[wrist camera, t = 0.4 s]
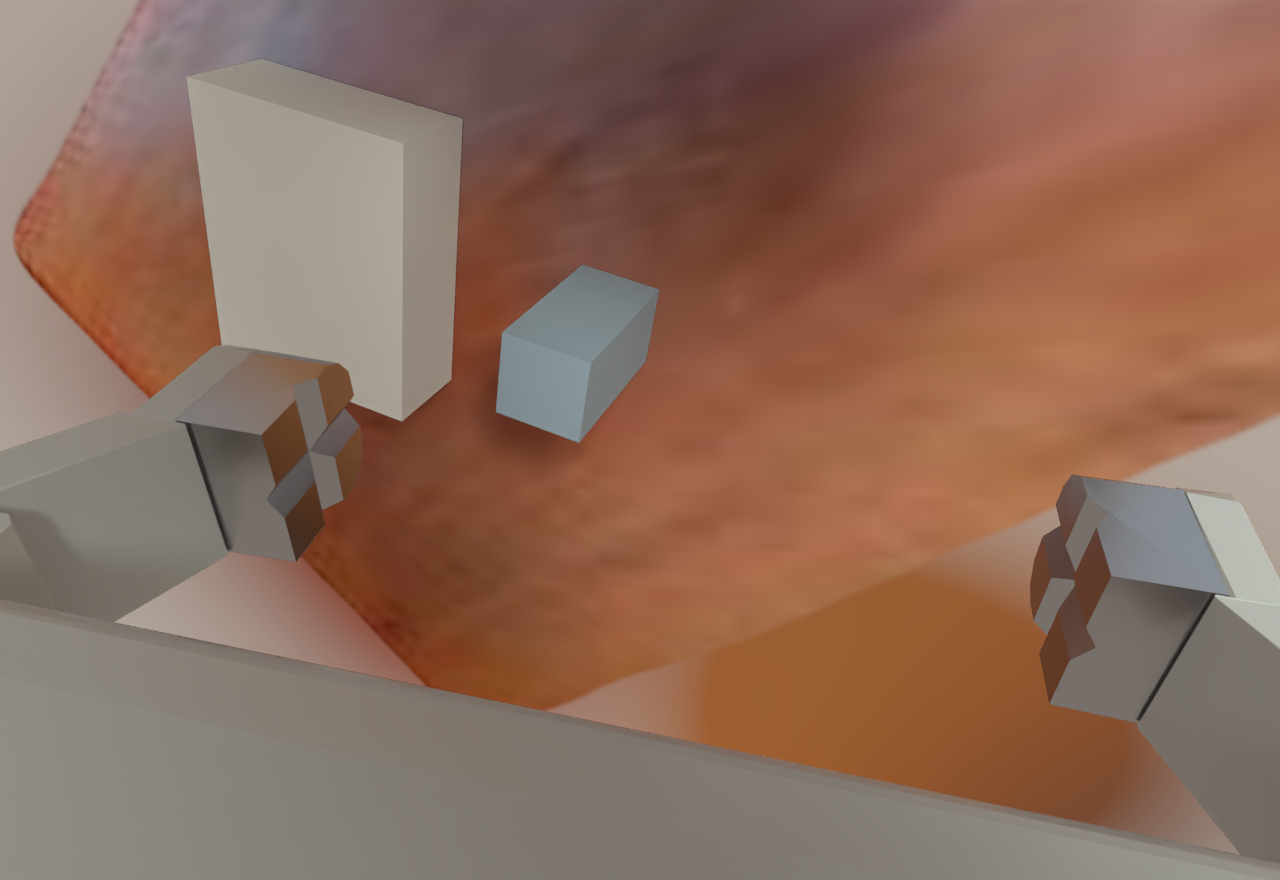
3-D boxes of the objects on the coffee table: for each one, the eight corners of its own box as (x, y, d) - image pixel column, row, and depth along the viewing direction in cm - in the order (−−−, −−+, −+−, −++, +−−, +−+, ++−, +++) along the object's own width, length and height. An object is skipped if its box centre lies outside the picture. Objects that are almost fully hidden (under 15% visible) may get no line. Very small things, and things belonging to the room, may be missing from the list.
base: (261, 58, 54) (186, 76, 50) (462, 118, 52) (403, 143, 47) (282, 317, 65) (222, 352, 60) (451, 379, 62) (401, 421, 57)
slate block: (582, 264, 54) (502, 332, 46) (659, 289, 52) (591, 363, 45) (572, 336, 56) (495, 412, 49) (645, 361, 55) (578, 442, 48)
